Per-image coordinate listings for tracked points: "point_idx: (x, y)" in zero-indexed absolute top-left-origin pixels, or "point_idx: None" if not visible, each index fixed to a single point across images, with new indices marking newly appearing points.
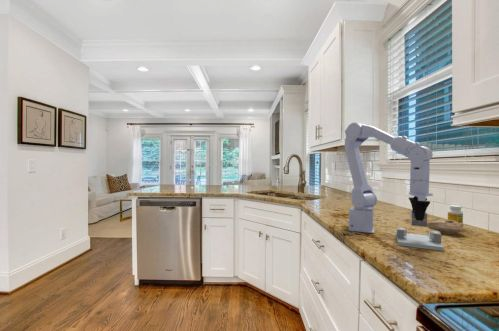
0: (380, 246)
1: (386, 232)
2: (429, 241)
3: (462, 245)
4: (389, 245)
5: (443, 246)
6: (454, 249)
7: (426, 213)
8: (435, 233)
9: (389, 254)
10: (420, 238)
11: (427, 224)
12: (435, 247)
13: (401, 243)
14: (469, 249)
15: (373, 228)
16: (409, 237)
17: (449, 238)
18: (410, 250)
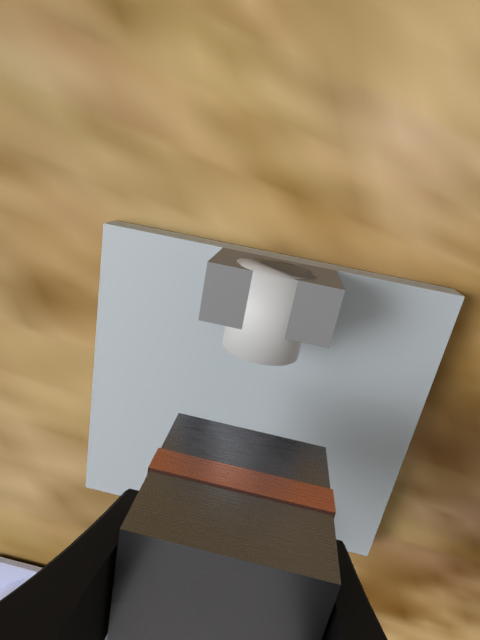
0: (413, 631)
1: (42, 502)
2: (302, 344)
3: (232, 37)
4: (379, 582)
5: (440, 293)
6: (387, 179)
7: (320, 585)
8: (320, 334)
9: None
10: (225, 378)
11: None
12: (438, 349)
13: (370, 532)
14: (358, 29)
15: (5, 568)
16: None
17: (12, 60)
18: (472, 506)
